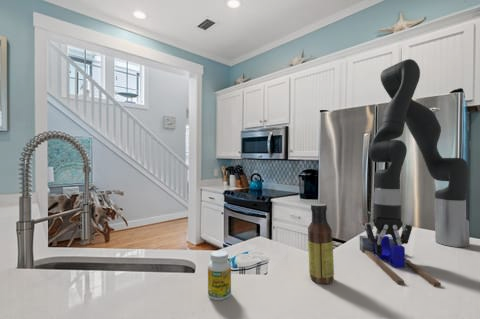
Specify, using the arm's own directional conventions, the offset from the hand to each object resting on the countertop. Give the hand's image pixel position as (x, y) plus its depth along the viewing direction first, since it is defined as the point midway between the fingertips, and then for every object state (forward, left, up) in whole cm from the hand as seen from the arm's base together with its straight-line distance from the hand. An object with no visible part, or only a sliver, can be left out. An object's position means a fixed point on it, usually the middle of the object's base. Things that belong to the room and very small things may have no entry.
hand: (387, 255), depth 79 cm
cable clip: (0, 0, -1) cm, 1 cm away
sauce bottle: (+24, +17, -2) cm, 29 cm away
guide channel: (0, +4, -1) cm, 4 cm away
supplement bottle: (+49, +28, -2) cm, 56 cm away
